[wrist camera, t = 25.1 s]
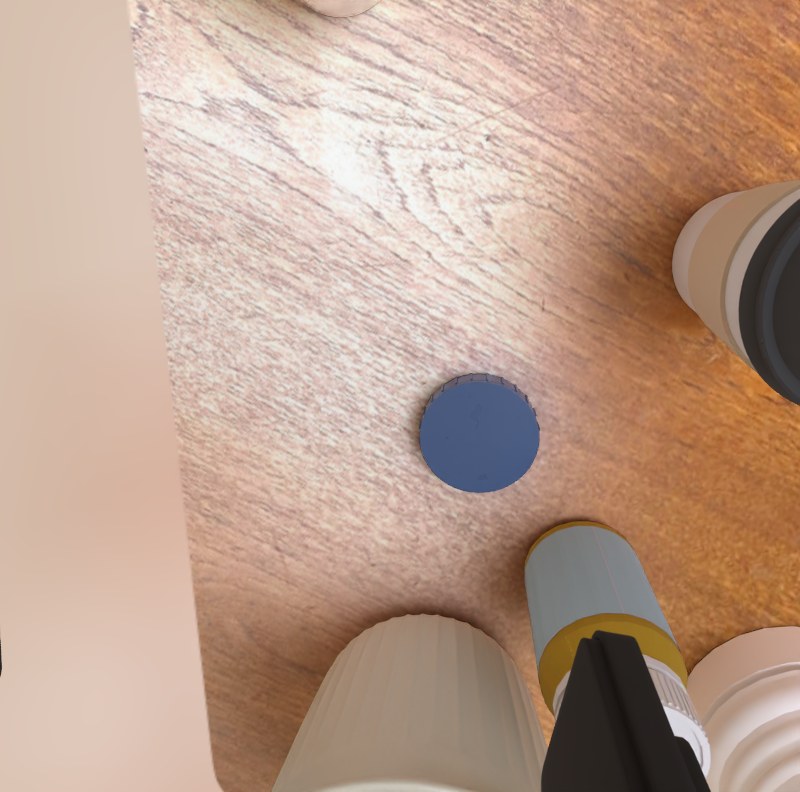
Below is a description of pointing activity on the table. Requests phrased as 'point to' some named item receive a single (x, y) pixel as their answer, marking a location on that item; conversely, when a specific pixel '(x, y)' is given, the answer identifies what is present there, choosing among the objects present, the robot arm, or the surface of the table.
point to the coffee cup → (748, 278)
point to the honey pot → (751, 711)
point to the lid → (479, 433)
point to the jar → (340, 6)
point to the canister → (419, 716)
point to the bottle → (603, 617)
